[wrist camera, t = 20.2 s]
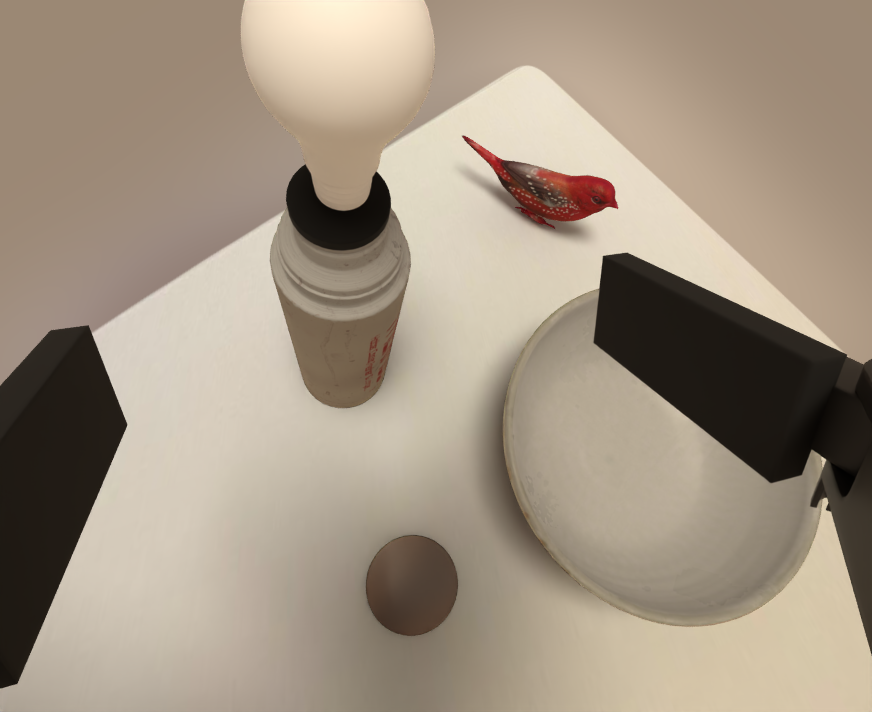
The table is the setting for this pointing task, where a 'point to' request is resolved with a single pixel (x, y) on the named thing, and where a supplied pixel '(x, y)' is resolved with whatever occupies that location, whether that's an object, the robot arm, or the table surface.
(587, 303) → the decorative bowl
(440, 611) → the walnut coaster
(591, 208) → the decorative bird figurine
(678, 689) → the table surface
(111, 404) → the robot arm
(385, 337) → the thermos bottle
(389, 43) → the lightbulb
